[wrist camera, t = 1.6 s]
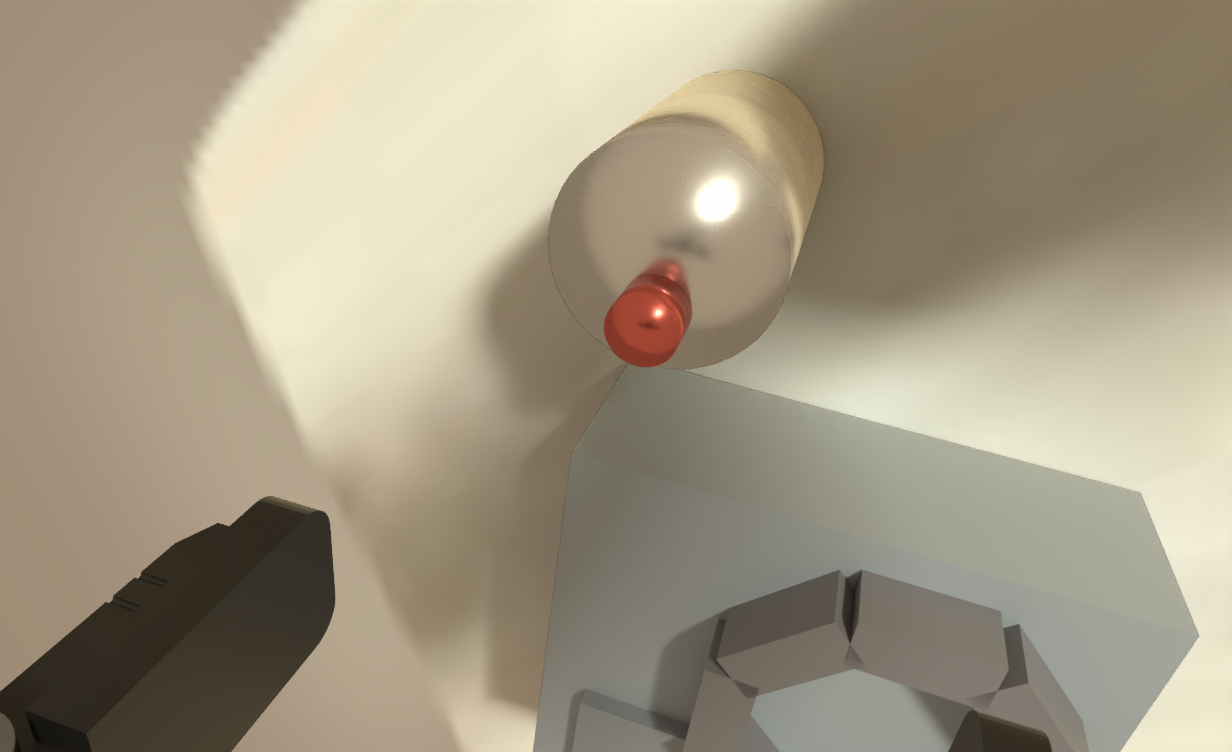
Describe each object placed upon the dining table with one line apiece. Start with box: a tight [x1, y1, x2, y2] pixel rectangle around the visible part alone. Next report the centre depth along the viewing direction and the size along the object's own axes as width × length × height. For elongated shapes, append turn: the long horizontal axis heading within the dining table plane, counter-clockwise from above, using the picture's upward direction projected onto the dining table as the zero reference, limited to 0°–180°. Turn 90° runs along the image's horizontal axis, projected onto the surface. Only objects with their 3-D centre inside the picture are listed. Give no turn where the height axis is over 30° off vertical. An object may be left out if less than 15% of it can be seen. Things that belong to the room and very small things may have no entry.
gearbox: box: [533, 363, 1199, 752], centre depth 28 cm, size 17×16×8 cm
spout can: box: [548, 70, 824, 369], centre depth 20 cm, size 5×5×9 cm
